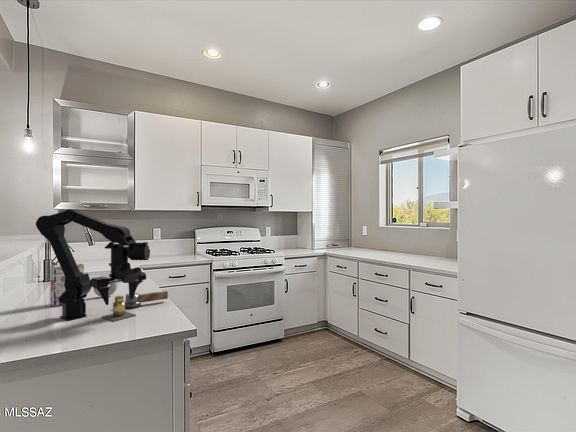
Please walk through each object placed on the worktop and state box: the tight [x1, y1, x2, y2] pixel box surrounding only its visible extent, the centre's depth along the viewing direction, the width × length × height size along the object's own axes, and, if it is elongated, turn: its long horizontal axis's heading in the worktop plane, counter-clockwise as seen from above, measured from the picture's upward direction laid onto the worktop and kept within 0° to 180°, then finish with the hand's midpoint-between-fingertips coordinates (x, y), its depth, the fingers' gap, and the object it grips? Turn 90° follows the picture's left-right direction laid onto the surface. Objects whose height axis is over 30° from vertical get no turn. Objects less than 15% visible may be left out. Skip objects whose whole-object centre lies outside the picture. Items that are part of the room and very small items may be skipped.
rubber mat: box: [101, 310, 137, 322], centre depth 123 cm, size 8×8×1 cm
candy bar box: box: [49, 263, 85, 307], centre depth 140 cm, size 11×5×16 cm, turn 144°
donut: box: [92, 274, 118, 298], centre depth 151 cm, size 10×4×10 cm, turn 125°
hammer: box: [124, 290, 169, 309], centre depth 139 cm, size 17×6×4 cm, turn 126°
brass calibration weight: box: [112, 295, 126, 317], centre depth 123 cm, size 4×4×7 cm
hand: (119, 302), depth 123 cm, fingers open, 9 cm apart
